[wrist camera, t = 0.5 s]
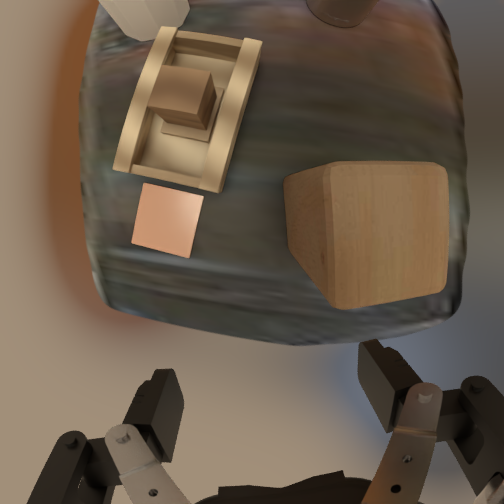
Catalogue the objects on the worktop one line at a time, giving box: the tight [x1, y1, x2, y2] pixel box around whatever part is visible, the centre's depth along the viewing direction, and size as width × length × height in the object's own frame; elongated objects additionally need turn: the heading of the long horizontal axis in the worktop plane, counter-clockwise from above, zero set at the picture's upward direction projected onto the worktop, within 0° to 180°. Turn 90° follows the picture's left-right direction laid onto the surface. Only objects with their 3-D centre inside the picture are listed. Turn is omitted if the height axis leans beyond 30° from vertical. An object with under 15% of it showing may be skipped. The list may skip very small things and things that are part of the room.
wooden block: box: [283, 161, 449, 310], centre depth 28 cm, size 10×10×20 cm
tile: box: [132, 183, 204, 258], centre depth 37 cm, size 8×8×1 cm
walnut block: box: [147, 65, 217, 131], centre depth 28 cm, size 4×5×8 cm
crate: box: [113, 26, 262, 193], centre depth 31 cm, size 18×12×7 cm, turn 165°
